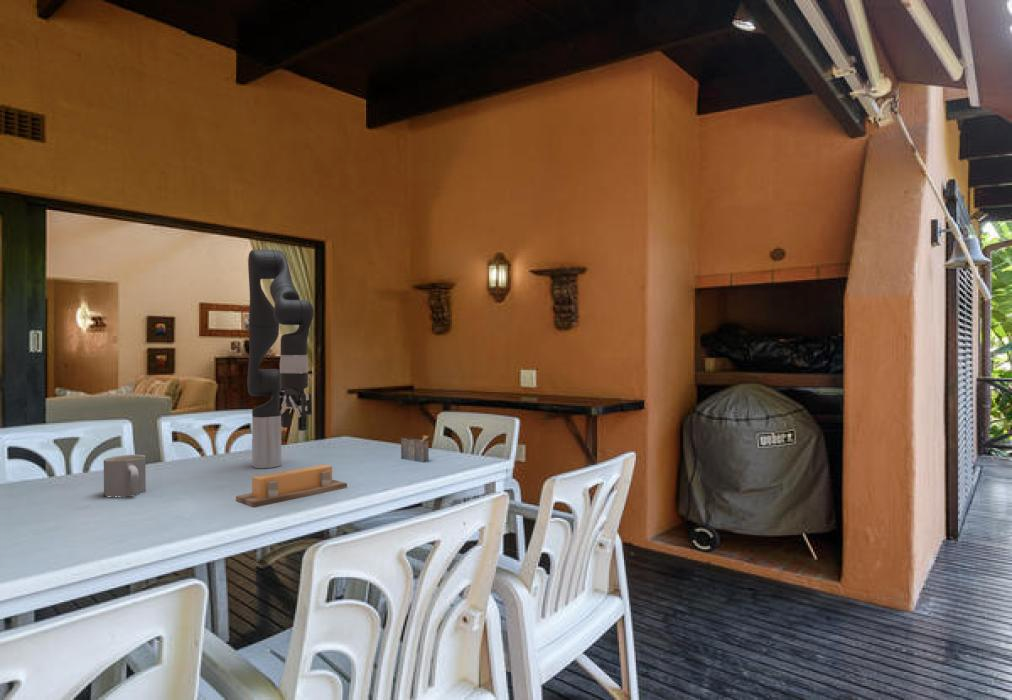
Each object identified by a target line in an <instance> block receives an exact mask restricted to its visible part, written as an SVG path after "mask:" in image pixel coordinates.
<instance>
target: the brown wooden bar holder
mask: <svg viewBox="0 0 1012 700" xmlns="http://www.w3.org/2000/svg"><path fill="white" fill-rule="evenodd" d="M346 487H347V488H348V483H347V482H343V481H339V480H336V479H332V484H330V472H329V471H326V472H320V486H318V487H313V488H308V489H303V490H298V491H293V492H288V493H283V494H278V481H272V482H267V497H264V498H257V497H254V496H252V492H251V493H244V494H241V495H236V496H235V501H236V502H239V503H242V504H243V505H247V506H250V507H252V508H257V507H261V506H265V505H271V504H276V503H280V502H285V501H286V502H287V501H289V500H295V499H300V498H305V497H307V496H313V495H318V494H323V493H327V492H332V491H336V490H341V489H346Z"/></svg>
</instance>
